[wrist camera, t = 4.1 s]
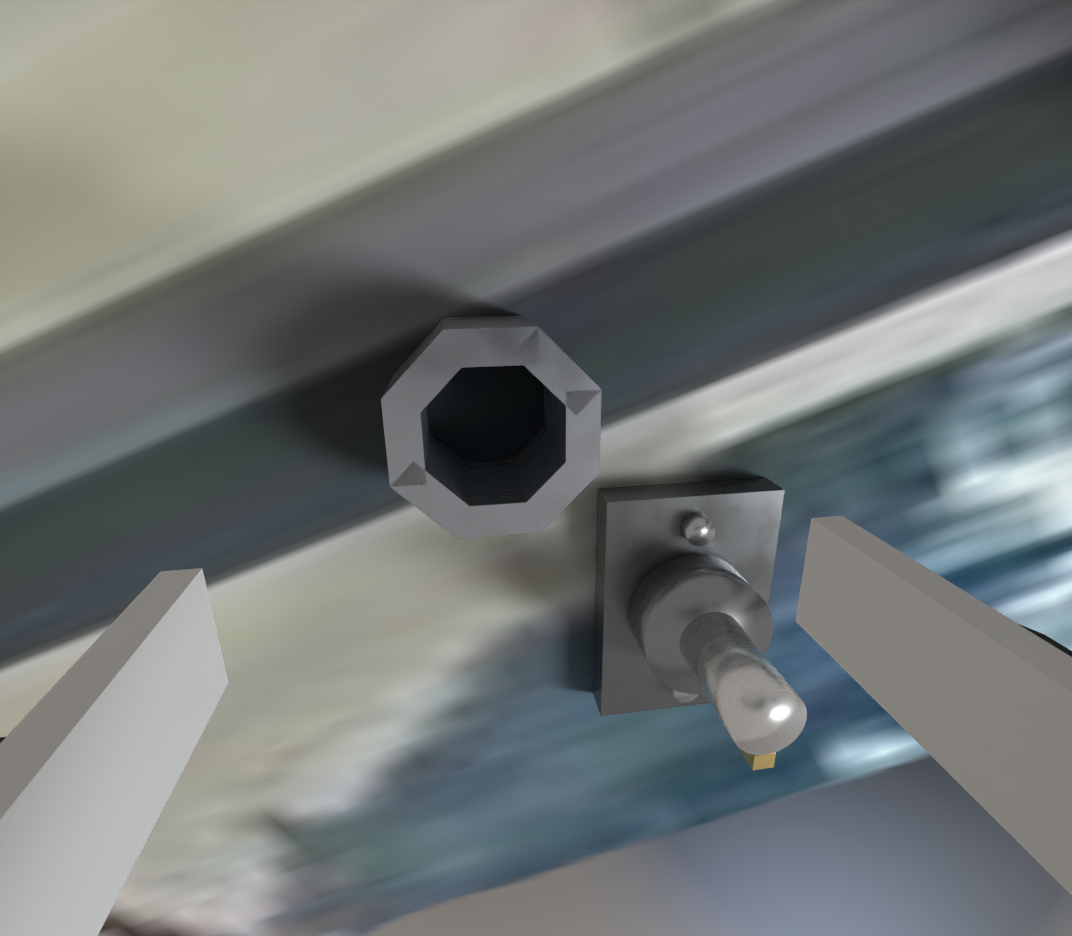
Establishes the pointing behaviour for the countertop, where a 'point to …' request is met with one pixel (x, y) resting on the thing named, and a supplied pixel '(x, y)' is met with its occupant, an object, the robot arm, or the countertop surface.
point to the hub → (492, 486)
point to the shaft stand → (693, 607)
